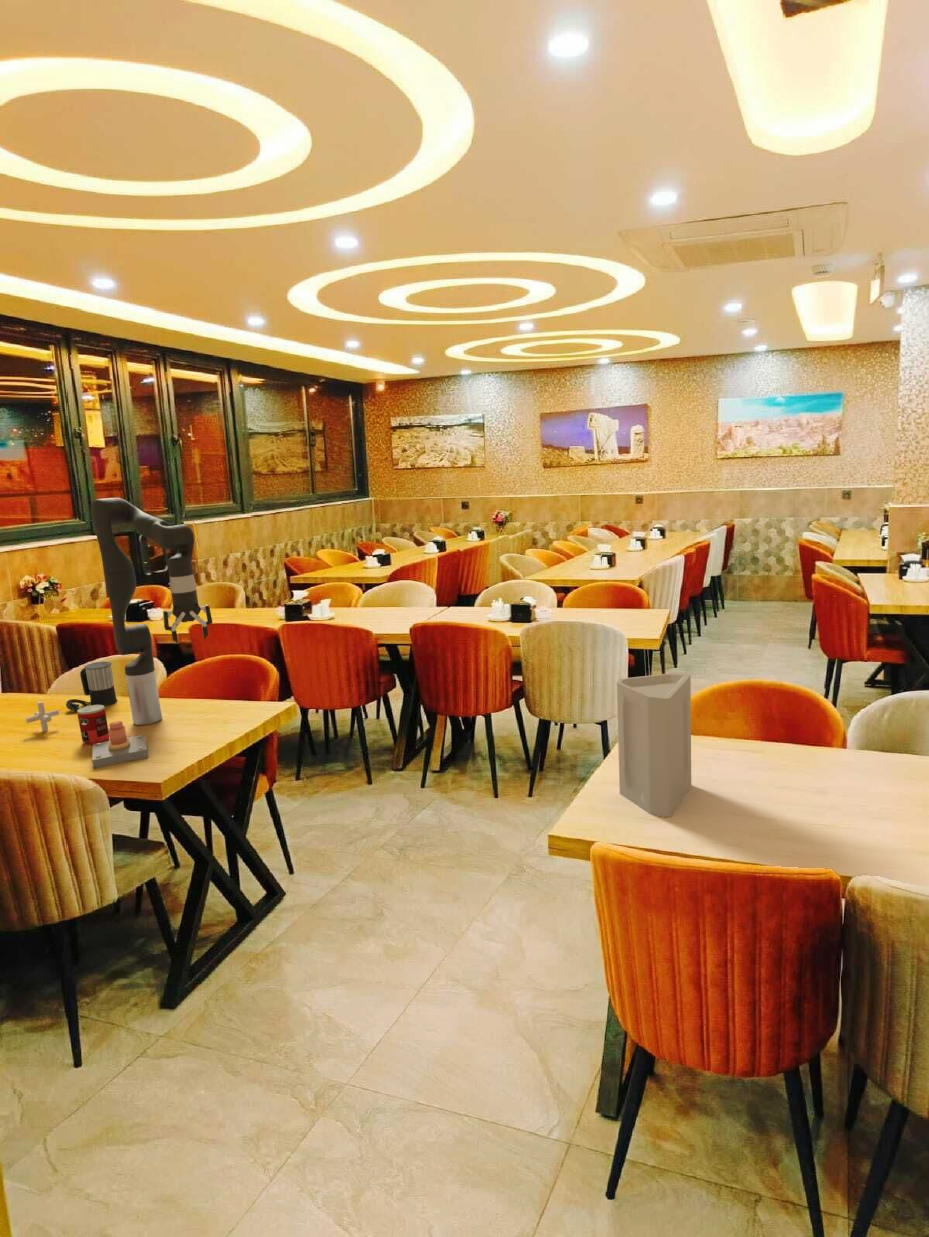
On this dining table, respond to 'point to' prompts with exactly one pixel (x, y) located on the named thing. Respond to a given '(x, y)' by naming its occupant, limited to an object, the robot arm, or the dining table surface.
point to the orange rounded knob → (117, 733)
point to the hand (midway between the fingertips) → (190, 640)
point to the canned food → (93, 724)
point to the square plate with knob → (119, 751)
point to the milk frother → (96, 686)
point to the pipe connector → (42, 716)
